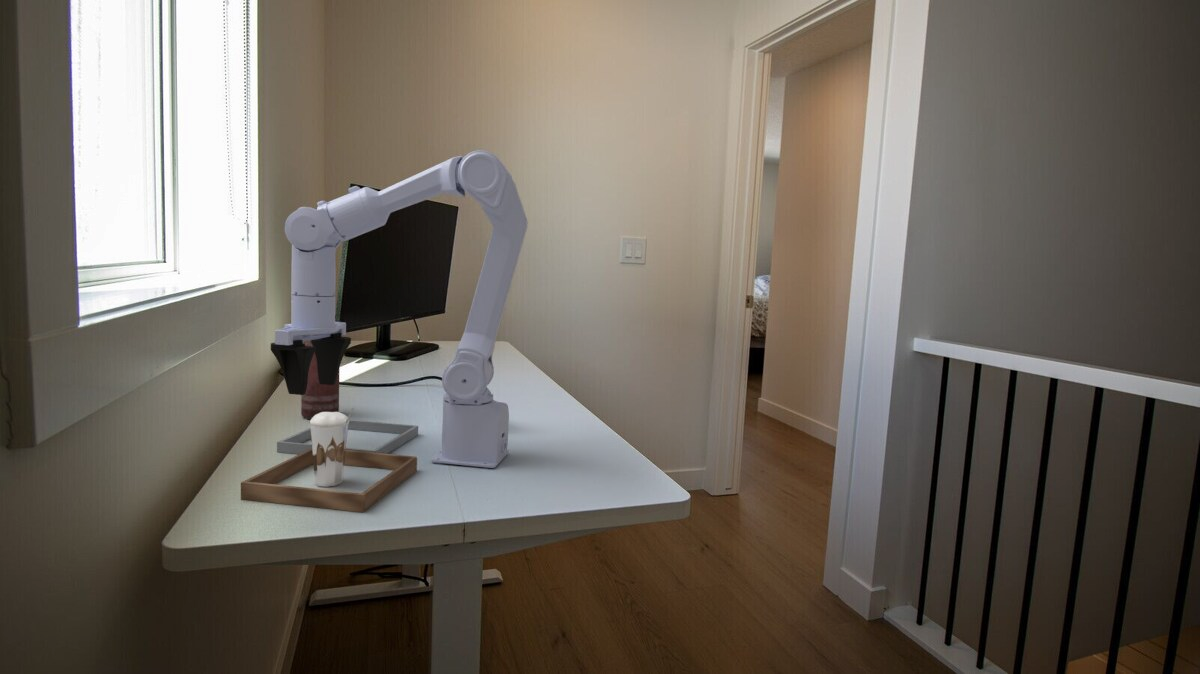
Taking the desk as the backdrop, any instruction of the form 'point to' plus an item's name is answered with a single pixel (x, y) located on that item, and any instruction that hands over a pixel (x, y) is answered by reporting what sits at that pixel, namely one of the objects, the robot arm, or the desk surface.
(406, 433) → the grey square frame
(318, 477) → the milkshake
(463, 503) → the desk surface
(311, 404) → the can
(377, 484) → the brown wooden frame
